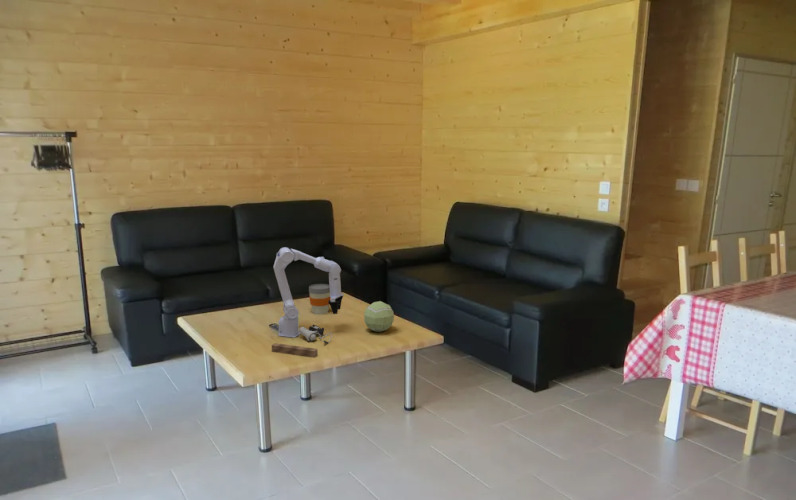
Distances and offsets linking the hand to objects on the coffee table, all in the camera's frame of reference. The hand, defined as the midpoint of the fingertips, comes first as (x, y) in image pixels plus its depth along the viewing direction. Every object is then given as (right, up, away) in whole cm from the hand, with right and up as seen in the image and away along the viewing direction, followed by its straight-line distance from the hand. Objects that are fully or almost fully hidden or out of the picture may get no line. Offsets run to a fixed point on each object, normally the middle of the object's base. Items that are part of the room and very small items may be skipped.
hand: (336, 311), depth 295 cm
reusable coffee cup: (-13, -4, +32) cm, 35 cm away
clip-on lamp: (-8, -13, -12) cm, 20 cm away
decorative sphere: (+22, -10, +1) cm, 24 cm away
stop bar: (-16, -16, -31) cm, 38 cm away
